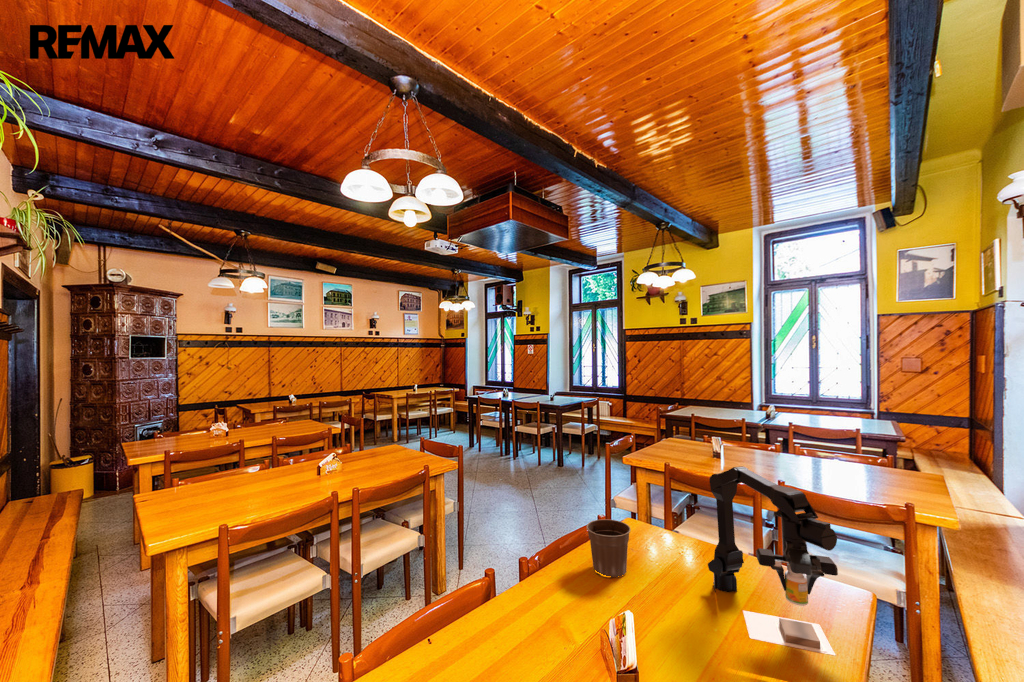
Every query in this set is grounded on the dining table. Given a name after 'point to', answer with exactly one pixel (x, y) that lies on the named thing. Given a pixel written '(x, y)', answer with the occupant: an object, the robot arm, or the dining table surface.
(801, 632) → the grey plinth
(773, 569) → the robot arm
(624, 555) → the plant pot
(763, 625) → the white flat board
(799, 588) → the supplement bottle
